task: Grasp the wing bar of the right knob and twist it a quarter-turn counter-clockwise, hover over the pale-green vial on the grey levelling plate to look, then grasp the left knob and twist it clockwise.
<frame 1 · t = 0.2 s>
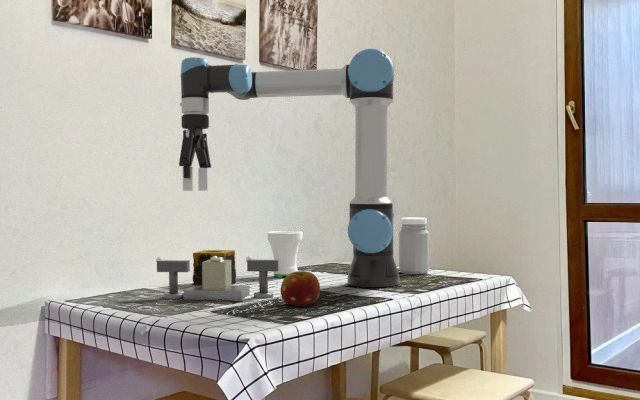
hand: (196, 190, 189), 28 cm above the table, fingers open, 13 cm apart
knob 1: (172, 277, 174), point 5 cm above the table, hinge at 0.0°
jar: (414, 273, 222), on the table
fruit: (300, 306, 162), on the table
level base: (217, 297, 175), on the table
candle: (214, 286, 198), on the table
cup: (285, 277, 215), on the table
knob 2: (262, 276, 174), point 5 cm above the table, hinge at 0.0°
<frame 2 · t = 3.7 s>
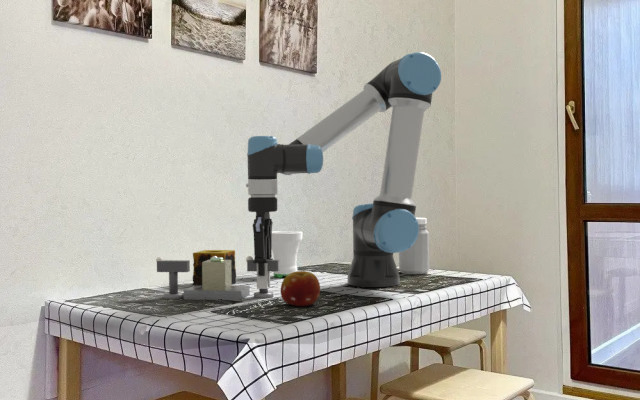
hand: (263, 287, 174), 2 cm above the table, fingers closed on knob 2, 2 cm apart
knob 2: (262, 276, 174), point 5 cm above the table, hinge at 0.0°, touching gripper
everything else where it was.
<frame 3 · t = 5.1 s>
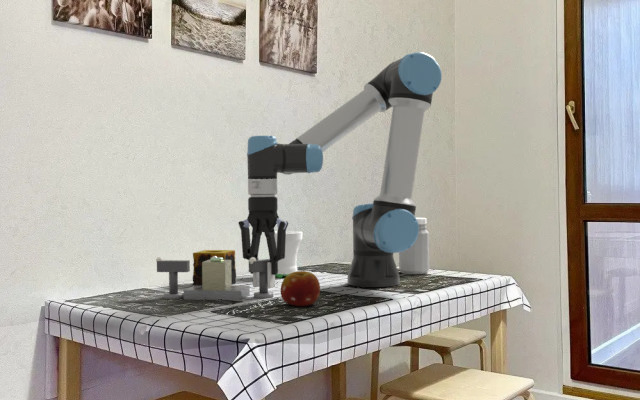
hand: (264, 286, 174), 3 cm above the table, fingers closed on knob 2, 3 cm apart
knob 2: (262, 276, 174), point 5 cm above the table, hinge at 53.8°, touching gripper
everything else where it was.
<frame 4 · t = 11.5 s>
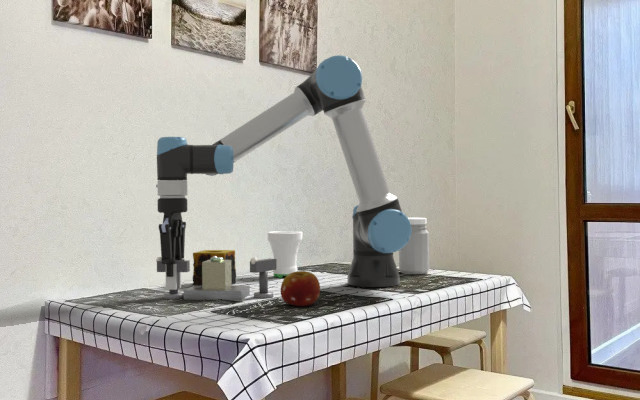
hand: (173, 288, 174), 2 cm above the table, fingers closed on knob 1, 2 cm apart
knob 1: (172, 277, 174), point 5 cm above the table, hinge at -0.2°, touching gripper
knob 2: (262, 276, 174), point 5 cm above the table, hinge at 62.1°
everything else where it was.
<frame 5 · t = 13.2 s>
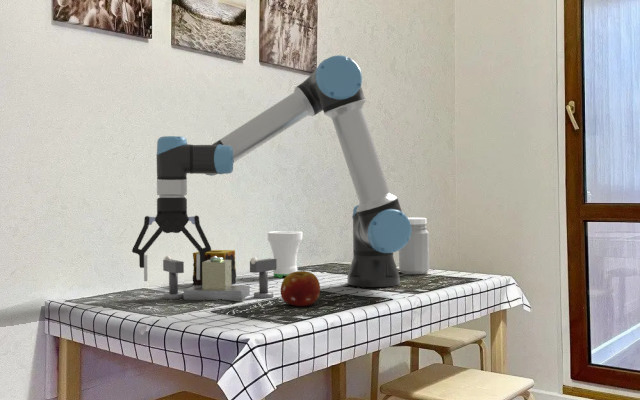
hand: (172, 279, 174), 5 cm above the table, fingers open, 12 cm apart
knob 1: (173, 277, 174), point 5 cm above the table, hinge at -47.5°
everything else where it was.
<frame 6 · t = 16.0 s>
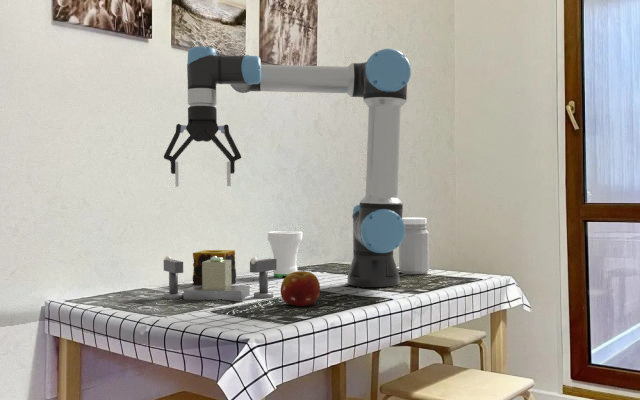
hand: (203, 186, 180), 29 cm above the table, fingers open, 13 cm apart
knob 1: (173, 277, 174), point 5 cm above the table, hinge at -49.3°
everything else where it was.
at the end: knob 2 at +62° (first picture: +0°); knob 1 at -49° (first picture: +0°); the gripper is holding nothing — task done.
